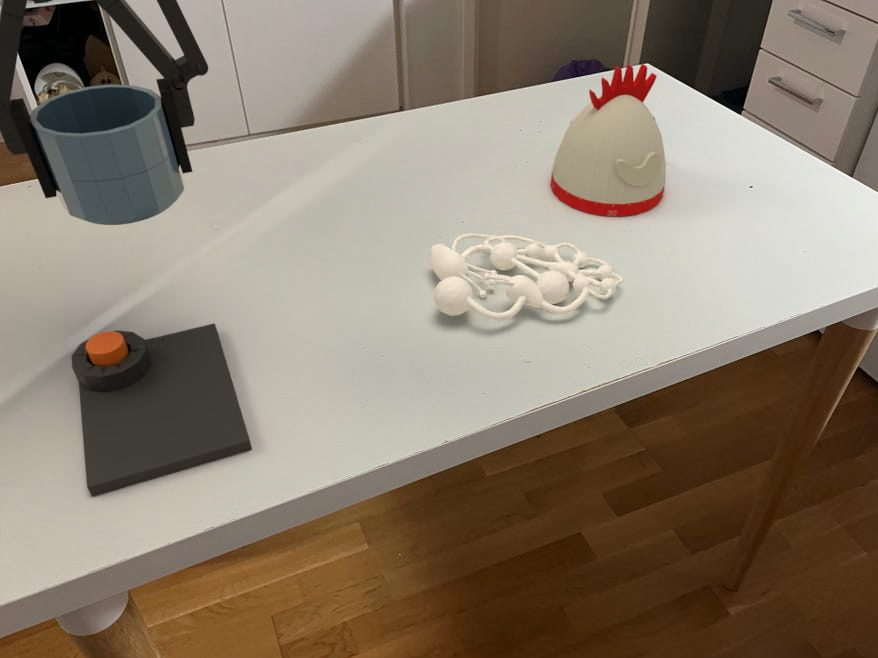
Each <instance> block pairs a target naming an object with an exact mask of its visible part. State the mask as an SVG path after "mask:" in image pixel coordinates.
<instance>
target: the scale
mask: <svg viewBox="0 0 878 658" xmlns="http://www.w3.org/2000/svg"><path fill="white" fill-rule="evenodd" d="M113 331H115V332H118V333H120V334H121V335H122V336H123V338H124V340H125V343H126V345H127V348H128V356H127V358H126V359H124V360H122V361H121V362H119V363H118V364H115V365H111V366H107V367H99V366H95V365H94V364H93V363H92V361H91V359H90V357H89V354H88V352H87V350H86V343H87V341H88V340H89V339H90V338H88V339H86V340H85V341H83V342H81V343H80V344H79V345H78V346H77V348H76V349H75V350H74V351H73V353H72V355H71V358H70V359H71V368H72V370H73V372H74V375H75V377H76V380H77V381H78V393H79V400H80V401H79V404H80V405H79V406H80V415H81V416H80V418H81V428H82V429H81V430H82V440H83V441H82V442H83V453H84V463H85V464H84V466H85V477H86V488H87V490H88V492H89V494H90V496H91V497H97V496H100V495H103V494H107V493H111V492H114V491H117V490H120V489H124V488H127V487H131V486H134V485H137V484H141V483H144V482H147V481H151V480H155V479H159V478H160V477H165V476H168V475H171V474H174V473H175V474H176V473H178V472H182V471H185V470H189V469H192V468H195V467H200V466H201V465H205V464H208V463H213V462H216V461H218V460H222V459H226V458H229V457H232V456H236V455H239V454H242V453H246V452H249V451H252V450H253V447H252V444H251V443H252V442H251V440H250V436H249V433H248V430H247V427H246V423H245V420H244V416H243V413H242V410H241V406H240V403H239V399H238V396H237V393H236V389H235V387H234V382H233V379H232V376H231V373H230V369H229V366H228V363H227V360H226V356H225V352H224V349H223V346H222V341H221V339H220V336H219V333H218V329H217V326H216V323H210V324H206V325H202V326H198V327H193V328H190V329H184V330H181V331H177V332H172V333H168V334H163V335H160V336H155V337H152V338H147V339H145V338H143V337H142V336H140V335H139V334H137V333H136V332H134V331H128V330H113Z"/></svg>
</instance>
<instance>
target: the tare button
mask: <svg viewBox="0 0 878 658" xmlns="http://www.w3.org/2000/svg"><path fill="white" fill-rule="evenodd" d="M88 339H89V340H88ZM88 339H87V340H88V341H87V340H86V341H87V343H86V350H87V352H88V354H89V357H90V359H91V361H92V363H93V364H94V365H95V366H99V367H107V366H111V365H115V364H118V363H119V362H121V361H122V360H124V359H126V358H127V356H128V348H127V345H126V343H125V340H124V338H123V336H122V335H121V334H120V333H118V332H115V331H114V330H108V331H102V332H99V333H96V334H94V335H93V336H91V337H90V338H88Z"/></svg>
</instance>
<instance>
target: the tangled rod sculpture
mask: <svg viewBox="0 0 878 658" xmlns="http://www.w3.org/2000/svg"><path fill="white" fill-rule="evenodd" d="M465 239H484V241H483V244H481V243H480V244H477V245H472V246H471V247H469V248H466V249H465V250H464V251H463V252H462V253H460V252H458V251H456V249H457V246H458V244H459V242H460V241H462V240H465ZM511 240H513V241H518V242H519V241H520V242H524V243H527V245H526V247H525V248H519V249H518V248H517V247H516V246H515V245H514V244H513V243H511V242H507V241H511ZM495 241H497V242H498V243H496V244H495V245H494V246H493V245H492V244H491V245H490V243H491V242H495ZM563 247H566V248H570V249H572V250H574V251H575V252H576V253H575V254H574V255H573V256H572V259H571V260H572V261H564V260H563V259H562V257H561V256H560V254H561V253H560V248H563ZM542 248H543V252H542ZM479 252H486V253H490V255H489V256H490V261H491V264H492V266H494V267H495V268H496V269H498V270H500V271H509V270H511V269H513V268H515V267H517V268H519V269H520V270H522V271H523V272H524V273H526V274H528V275H530V276H532V277H533V278H535V279H536V280H535V281H536V282H535V281H534V280H532V279H531V278H529V277H528V276H526V275H523V274H517V275H514V276H509V275H504V274H498V272H497V271H496V270H495V269H492V270H489V269H486V268H482V267H479V266H475V265H473V264H470V263H468V262H467V259H468V258H469V257H471V256H472V255H473V254H475V253H479ZM429 253H430V254H429V257H430V266H431V269H432V271H433V272H434V274H435V275H436V277H437V278H438V279H439V280H440V281H439V282H438V284H437V285H436V287H435V289H434V293H433V301H434V304H435V306H436V307H437V309H438V310H439V311H440V312H441V313H443V314H445V315H447V316H451V317H454V316H460V315H463V314H464V313H466V312H467V311H468V310H469V309H470V308H471V310H473V311H475V313H477V314H478V315H480V316H482V317H483V318H486V319H489V320H492V321H504V320H508V319H511V318H513V317H514V316H516V315H517V314H518V313H519V311H520V310H521V309H522V308H523V306H524V304H525V305H528V306H530V307H533V308H536V309H540V308H542V309H543V310H545V311H547V312H550V313H551V314H556V315H567V314H570V313H572V312H574V311H575V310H576V309H578V308H579V307H580V306H581V305H582V304H584V303H585V301H586V300H587V298H588V297H589V295H591V296H592V297H594V298H596V299H598V300H608V299H609V298H610V297H611V296H612V294H614V293H615V292H616V290H617V286H619V285H621V284H623V283H624V280H625V278H624V276H621V275H620V274H618V273H615V272H614V269H613V267H612V266H611V265H609V264H608V263H607V262H606V261H604V260H601V259H598V258H596V257H590V256H588V255H587V254H586V253H585V252H583V251H581V250H580V248H579V247H577V246H576V245H574V244H573V243H570V242H560V243H557V244H556V245H555V244H546V243H544V242H540V241H537V240H535V239H531V238H528V237H524V236H520V235H513V234H511V235H509V234H507V235H505V234H504V235H493V234H485V233H463V234H461V235H460V234H459V235H458V236H457V237H456V238H454V240H453V241H452V244H451V248H450V247H448V246H447V245H446V244H442V243H436V244H434V245H433V246H431V249H430V252H429ZM541 253H543V257H544V259H546V260H547V261H544V260H542V259H538V258H539V257H540V255H541ZM589 262H592V263H596V264H599V265H600V266H599V267H598V268H597V269H582V268H584V267H586V266H587V265H588V264H589ZM525 263H527V264H530V265H535V266H538V267H543V268H545V269H547V271H544V272H542V273H539V272H537V271H536V270H534V269H533V268H531V267H530V266H528V265H527V264H525ZM470 269H471V270H470ZM472 270H473V271H472ZM474 271H476V272H478V273H479V272H480V273H483V275H480V274H478V273H476V272H474ZM468 275H470V276H472V277H475V278H476V279H478V280H480V281H481V282H483V283H484V284H485V286H487V288H488V290H490V291H493V290H494V289H496V284H497V285H498V284H502V285H505V295H506V297H507V298H508V299H509V300H510V301H513V302H515V303H514V304H513V306H512V307H510V309H508V310H507V311H503V312H494V311H491V310H488V309H487V308H485V307H483V306H482V305H481V304H479V303H478V302H476V301H475V300H474V291H473V288H472V286H473V287H474V288H475V289H476V291H477V292H478V296H479V297H480V298H482V299H485V298H486V297H487V296H488V292H487V291H486V290H484V289H482V288H481V287H480V285H479V284H477V283H476V282H475V281H473V280H472V278H469V277H468ZM592 277H598V280H597V279H594V278H592ZM614 278H615V279H617V280H616V281H615V279H614ZM599 280H601V281H599ZM571 282H572V288H573V291H575V293H578V294H580V295H579V296H578V297H577V298H576V299H575V300H574V301H572V302H571V303H570V304H569V305H566V306H559V305H556V304H559V303H561V302H563V301H564V300H565V299H566V297H567V296H568V295H569V291H570V283H571ZM591 286H594V287H597V288H599V290H600V292H601V293H602V294H599V293H597V292H595V291H594V290H593V289H591V288H590V287H591Z"/></svg>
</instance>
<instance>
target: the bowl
mask: <svg viewBox="0 0 878 658" xmlns="http://www.w3.org/2000/svg"><path fill="white" fill-rule="evenodd" d="M29 115H30V119H29V123H30V126H31V128H32V131H33V133H34V136H35V138H36V141H37V143H38V146H39V148H40V151H41V153H42V156H43V158H44V161H45V163H46V165H47V168H48V171H49V173H50V176H51V178H52V181H53V183H54V186H55V188H56V193H57V197H58V198H59V200H60V203H61V206H62V208H63V209H64V210H65V211H66V212H67V213H68V214H69V216H71V217H74V218H76V219H79V220H82V221H85V222H87V223H91V224H96V225H102V226H120V225H128V224H129V225H130V224H134V223H138V222H139V223H140V222H142V221H146V220H148V219H151V218H154V217H155V216H158V215H160V214H163V212H166V210H168V209H170V207H171V206H173V205H174V203H175V202H177V201H178V199H179V198H180V197H181V195H182V194H183V193H184V192H185V179H184V175H183V173H182V170H181V167H180V164H179V160H178V156H177V153H176V149H175V145H174V142H173V138H172V134H171V131H170V127H169V123H168V119H167V116H166V112H165V108H164V105H163V101H162V98H161V95H160V94H158V93H156V92H155V91H154V90H153V89H150V88H145V87H142V86H138V85H134V84H133V85H132V84H131V85H130V84H102V85H93V86H91V85H90V86H86V87H81V88H78V89H72V90H69V91H65V92H62V93H59V94H57V95H55V96H52V97H50V98H47V99H45V100H44V101H42V102H40V103H39V104H38V105H37V106H36V107H35V108H33V109H32V110H31V112H30V114H29Z"/></svg>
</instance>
